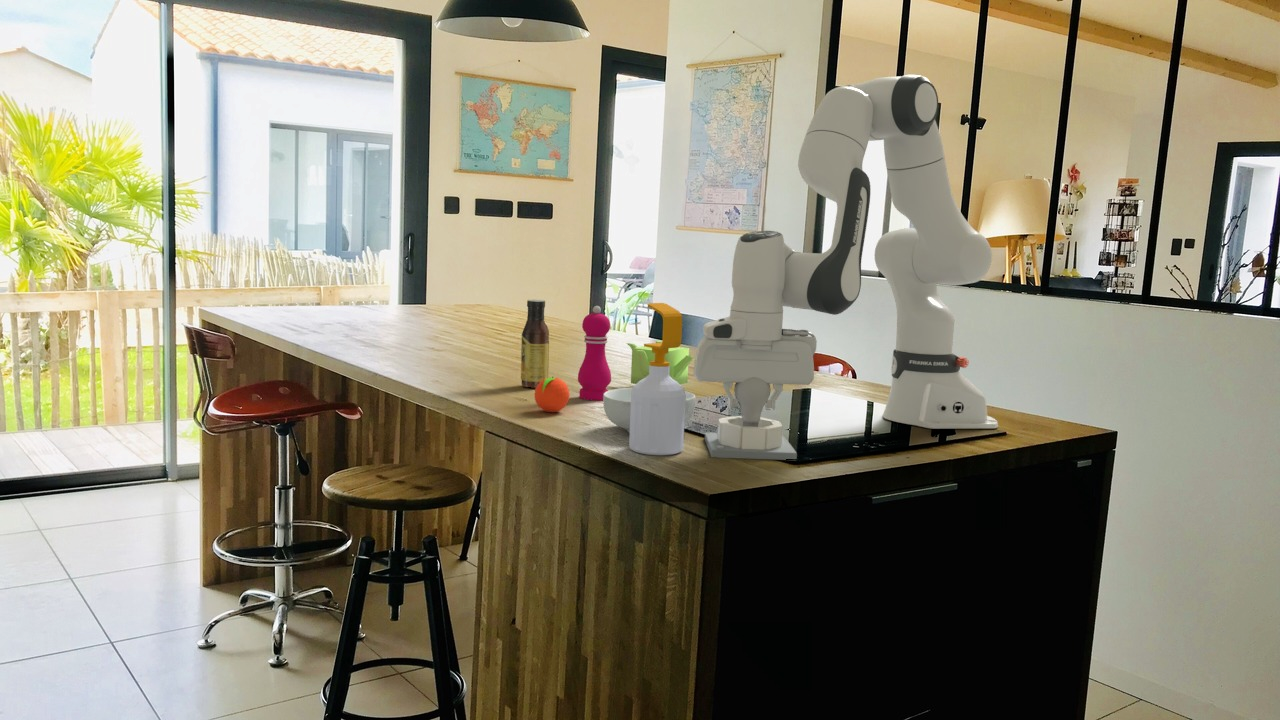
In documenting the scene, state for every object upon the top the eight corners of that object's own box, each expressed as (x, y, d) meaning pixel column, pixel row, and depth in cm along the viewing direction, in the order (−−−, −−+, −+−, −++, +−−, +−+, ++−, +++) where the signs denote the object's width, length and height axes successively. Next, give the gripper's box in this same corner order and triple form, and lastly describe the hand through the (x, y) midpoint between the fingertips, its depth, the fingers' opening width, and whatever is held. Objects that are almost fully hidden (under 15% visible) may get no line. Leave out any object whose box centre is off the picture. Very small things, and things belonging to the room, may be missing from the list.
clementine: (558, 417, 188) (559, 381, 188) (525, 414, 191) (526, 378, 190) (574, 410, 196) (575, 375, 195) (542, 407, 198) (543, 372, 197)
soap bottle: (656, 441, 170) (662, 301, 167) (693, 451, 164) (701, 305, 160) (617, 448, 164) (623, 302, 161) (655, 458, 158) (662, 306, 154)
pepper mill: (617, 398, 212) (620, 306, 210) (598, 402, 206) (601, 307, 204) (589, 394, 216) (592, 303, 214) (570, 398, 210) (573, 305, 208)
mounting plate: (782, 441, 174) (783, 433, 174) (796, 460, 160) (797, 451, 160) (704, 439, 174) (705, 430, 174) (711, 457, 160) (711, 448, 160)
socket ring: (775, 437, 172) (776, 417, 172) (784, 450, 162) (785, 429, 162) (715, 434, 172) (716, 415, 172) (721, 448, 162) (722, 427, 161)
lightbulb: (770, 434, 169) (774, 371, 168) (764, 440, 163) (768, 375, 162) (736, 431, 171) (739, 368, 169) (728, 437, 165) (731, 373, 164)
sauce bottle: (524, 383, 227) (526, 298, 224) (550, 385, 226) (553, 299, 223) (517, 388, 220) (519, 300, 217) (544, 389, 219) (546, 301, 217)
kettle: (635, 394, 219) (637, 344, 217) (620, 384, 232) (621, 337, 231) (698, 393, 222) (701, 344, 221) (680, 384, 236) (682, 337, 235)
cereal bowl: (648, 419, 191) (650, 383, 190) (712, 434, 179) (714, 396, 178) (583, 429, 179) (584, 391, 178) (647, 445, 167) (648, 405, 166)
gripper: (813, 328, 168) (808, 407, 170) (694, 324, 167) (691, 403, 169) (820, 332, 162) (815, 414, 163) (697, 327, 161) (693, 410, 163)
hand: (751, 408), depth 166 cm, fingers closed on lightbulb, 5 cm apart
